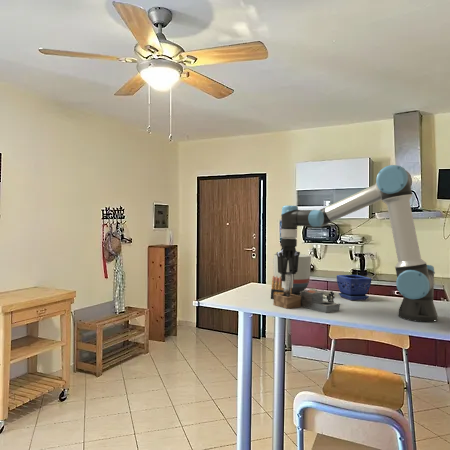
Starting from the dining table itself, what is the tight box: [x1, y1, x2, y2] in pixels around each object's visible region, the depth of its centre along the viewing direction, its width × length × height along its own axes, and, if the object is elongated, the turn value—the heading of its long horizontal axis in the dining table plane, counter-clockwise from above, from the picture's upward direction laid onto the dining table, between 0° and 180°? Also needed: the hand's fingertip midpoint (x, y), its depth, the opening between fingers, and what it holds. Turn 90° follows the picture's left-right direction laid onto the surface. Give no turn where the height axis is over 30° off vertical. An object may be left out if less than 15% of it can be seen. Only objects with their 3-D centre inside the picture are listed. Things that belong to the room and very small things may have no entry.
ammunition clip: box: [270, 275, 292, 300], centre depth 206 cm, size 11×2×12 cm, turn 65°
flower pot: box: [336, 274, 372, 301], centre depth 214 cm, size 13×13×12 cm
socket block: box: [299, 289, 341, 314], centre depth 188 cm, size 18×9×7 cm, turn 35°
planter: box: [273, 253, 312, 295], centre depth 225 cm, size 20×20×21 cm
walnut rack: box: [272, 293, 301, 310], centre depth 191 cm, size 9×9×5 cm
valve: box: [309, 287, 335, 303], centre depth 200 cm, size 7×7×12 cm
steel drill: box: [284, 272, 291, 297], centre depth 191 cm, size 3×3×12 cm
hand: (287, 287), depth 191 cm, fingers closed on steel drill, 3 cm apart
